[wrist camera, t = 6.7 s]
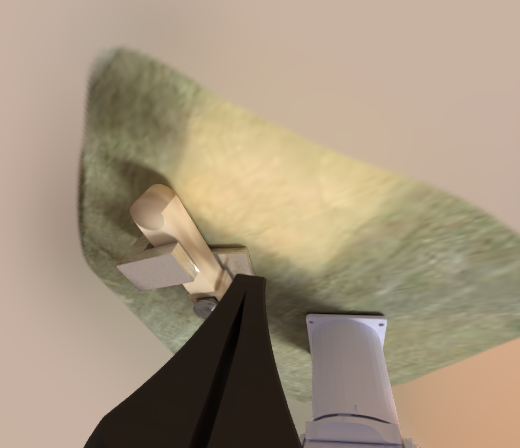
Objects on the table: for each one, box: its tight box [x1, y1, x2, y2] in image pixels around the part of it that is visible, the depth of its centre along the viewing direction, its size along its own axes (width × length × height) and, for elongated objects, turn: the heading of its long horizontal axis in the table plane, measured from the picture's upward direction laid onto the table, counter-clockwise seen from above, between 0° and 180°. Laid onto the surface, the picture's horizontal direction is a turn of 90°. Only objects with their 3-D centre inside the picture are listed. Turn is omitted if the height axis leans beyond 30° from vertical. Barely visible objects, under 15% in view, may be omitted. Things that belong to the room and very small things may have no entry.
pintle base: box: [193, 247, 255, 319], centre depth 25 cm, size 7×7×4 cm
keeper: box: [116, 233, 199, 291], centre depth 22 cm, size 3×5×5 cm, turn 113°
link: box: [130, 184, 232, 304], centre depth 22 cm, size 13×3×2 cm, turn 20°
